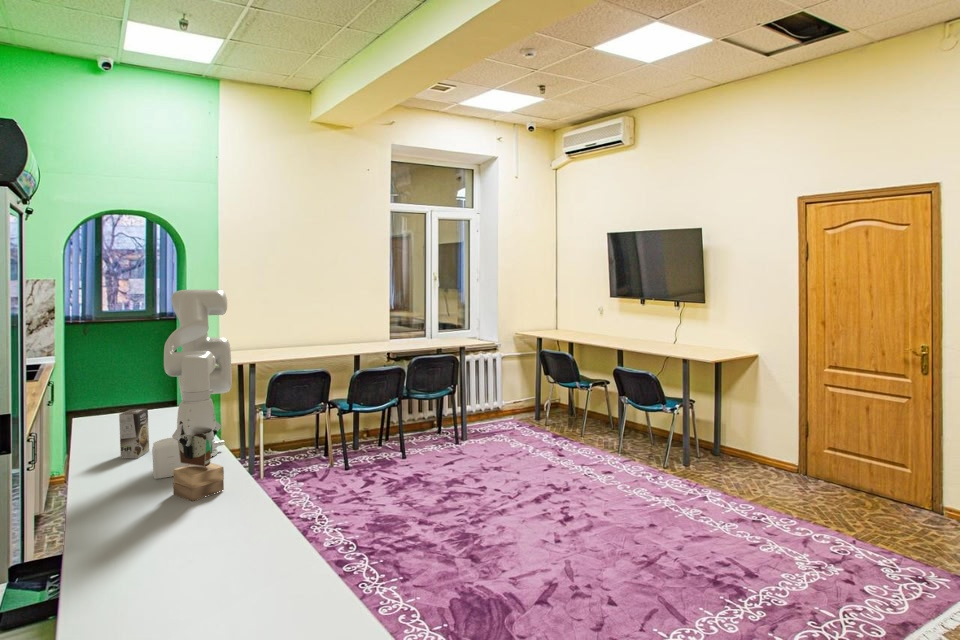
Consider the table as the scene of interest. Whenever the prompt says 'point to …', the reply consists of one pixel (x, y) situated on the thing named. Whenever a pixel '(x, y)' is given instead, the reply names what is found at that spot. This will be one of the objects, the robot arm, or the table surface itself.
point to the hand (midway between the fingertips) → (198, 455)
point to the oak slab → (198, 475)
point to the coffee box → (134, 433)
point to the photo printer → (165, 458)
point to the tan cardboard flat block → (197, 490)
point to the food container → (198, 449)
